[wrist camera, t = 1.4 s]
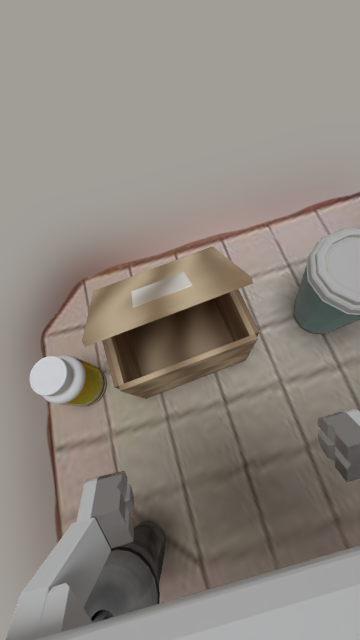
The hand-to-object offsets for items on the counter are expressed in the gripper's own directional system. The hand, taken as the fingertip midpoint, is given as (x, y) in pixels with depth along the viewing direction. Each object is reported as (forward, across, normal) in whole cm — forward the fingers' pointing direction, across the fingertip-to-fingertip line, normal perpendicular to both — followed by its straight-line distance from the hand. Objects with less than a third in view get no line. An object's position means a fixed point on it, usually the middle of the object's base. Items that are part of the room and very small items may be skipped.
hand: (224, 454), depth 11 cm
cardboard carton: (+31, 0, +10) cm, 32 cm away
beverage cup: (+15, +10, +29) cm, 34 cm away
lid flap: (+20, +1, -2) cm, 20 cm away
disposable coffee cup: (+29, -22, +10) cm, 38 cm away
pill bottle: (+30, +15, +13) cm, 36 cm away
